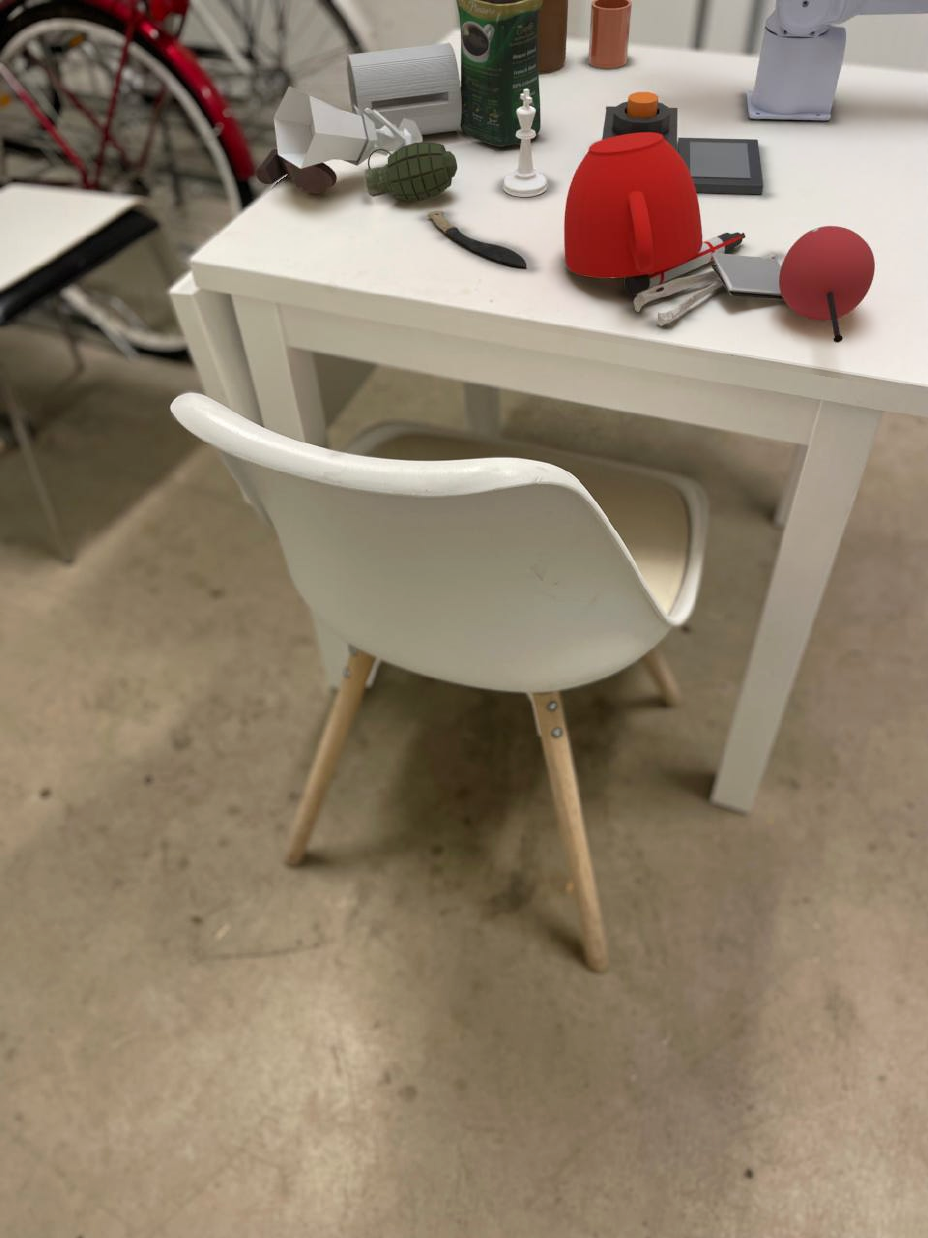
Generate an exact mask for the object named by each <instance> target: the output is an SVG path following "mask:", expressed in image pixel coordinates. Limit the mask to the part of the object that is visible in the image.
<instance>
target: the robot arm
mask: <svg viewBox="0 0 928 1238" xmlns="http://www.w3.org/2000/svg"><path fill="white" fill-rule="evenodd" d="M774 7H775V8H774V10H773V12H771V14H770V15H769V16H768V17H767V18H766V19H765V24H764V30H763V35H762V41H761V47H760V53H759V57H758V64H757V68H756V74H755V80H754V86H753V89H751V90H747V91H746V104H747V112H748V118H749V119H752V120H753V119H754V120H793V121H795V120H797V121H798V120H799V121H800V120H802V121H829V120H831V112H832V108H833V105H834V100H835V95H836V91H837V87H838V83H839V79H840V74H841V70H842V66H843V61H844V57H845V51H846V45H847V44H846V43H847V31H846V28H845V27H844V26H834V25H841V24H843V23H846V22H848V21H850V20H852V19H853V18H855V17H857V16H881V15H882V16H884V15H886V16H887V15H889V16H890V15H926V14H927V15H928V0H775V6H774Z"/></svg>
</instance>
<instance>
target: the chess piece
mask: <svg viewBox="0 0 928 1238" xmlns="http://www.w3.org/2000/svg"><path fill="white" fill-rule="evenodd" d="M520 99H522V100H523V106H522V107H519V108H518V109H517V111H516V112H517V116H518V119H519V123H520V126H521V129H520V130H518V131H517V132H516V137H517V138H519V139H521V144H520V150H519V157H518V166H517V169H515V170H514V172H512V173H510V174H508V175H507V176H505V177H504V179H503V185H502V189H503V191H504V192H505V193H506V194H508V195H510V196H514V197H519V198H520V197H521V198H530V197H535V196H539V195H542V194H543V193H545V192H546V191H547V190H548V179H547V177H546V176H545V175H544V174H542V173H540V172H538V171H537V170H536V169H535V168H534V164H533V156H532V155H533V154H532V144H531V140H532V139H534V138H535V137H536V136H537V135H536V133H535V131H534V130H532V129H531V125H532V122H533V119H534V116H535V113H536V110H535V108H533V107H531V106H529V104H530V103H532V98H531V97H529V89H524V93H523V94H520ZM531 138H532V139H531ZM530 139H531V140H530Z"/></svg>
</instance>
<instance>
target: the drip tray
mask: <svg viewBox="0 0 928 1238" xmlns="http://www.w3.org/2000/svg"><path fill="white" fill-rule="evenodd" d="M677 152H678V154H679V155H680V156H681V158H682V159H683V160H684V162H685V164H686V165H687V167H688V169H689V171H690V174H691V176H692V179H693V182H694V185H695V189H696V193H697V194H698V193H701V194H702V193H703V194H729V195H730V194H731V195H732V194H734V195H762V194H763V189H764V180H763V172H762V164H761V154H760V147H759V140H758V139H756V138H755V139H753V138H752V139H751V138H717V137H716V138H715V137H713V138H712V137H677Z"/></svg>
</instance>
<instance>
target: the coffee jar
mask: <svg viewBox="0 0 928 1238" xmlns="http://www.w3.org/2000/svg"><path fill="white" fill-rule="evenodd" d="M455 1H456V5H457V10H458V16H459V17H458V18H459V27H460V87H461V103H462V114H461V125H460V130H461V131H462V132H463V134H465V135H466V136H469V137H471V138H472V139H475V140H478V141H480V142H482V143H486V144H488V145H491V146H494V147H495V146H496V147H505V146H513V145H517V146H519V145H520V146H521V139H519V138H517V137H516V132H517V131H518V130H520V129H521V126H520V123H519V119H518V116H517V112H516V111H517V109H518V108H519V107H522V106H523V100H522V99H520V94H523V93H524V89H529V97H531V98H532V103H530V104H529V106H531V107H533V108H535V110H536V113H535V116H534V119H533V122H532V125H531V129H532V130H534V131H535V133H536V136H538V134H539V133H540V131H541V95H540V94H541V93H540V73H539V68H538V21H539V13H540V8H541V5H542V1H543V0H455ZM532 139H533V138H531V139H530V141H531V140H532Z"/></svg>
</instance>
